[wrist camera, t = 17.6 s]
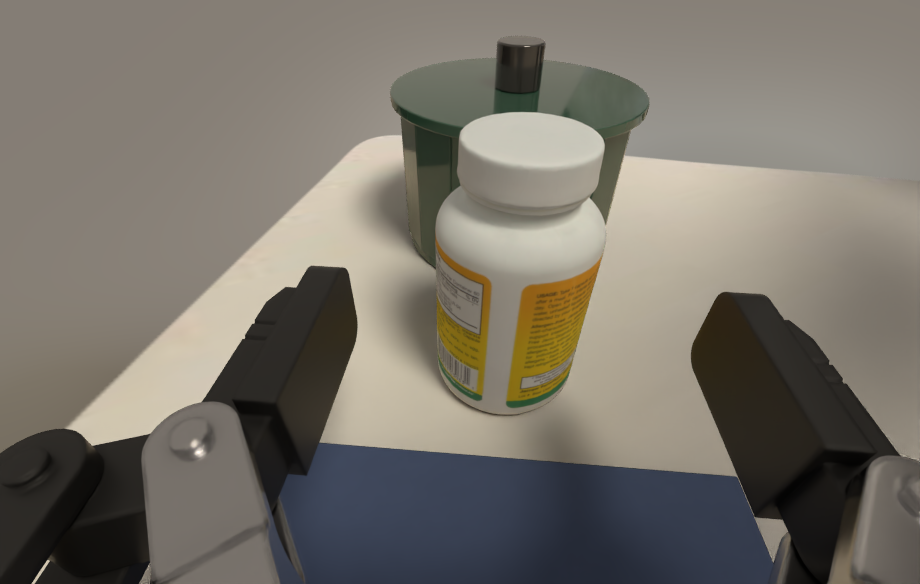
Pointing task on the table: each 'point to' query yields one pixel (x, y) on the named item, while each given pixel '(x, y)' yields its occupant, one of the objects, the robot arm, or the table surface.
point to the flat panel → (516, 522)
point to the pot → (437, 178)
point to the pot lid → (517, 91)
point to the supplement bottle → (517, 258)
